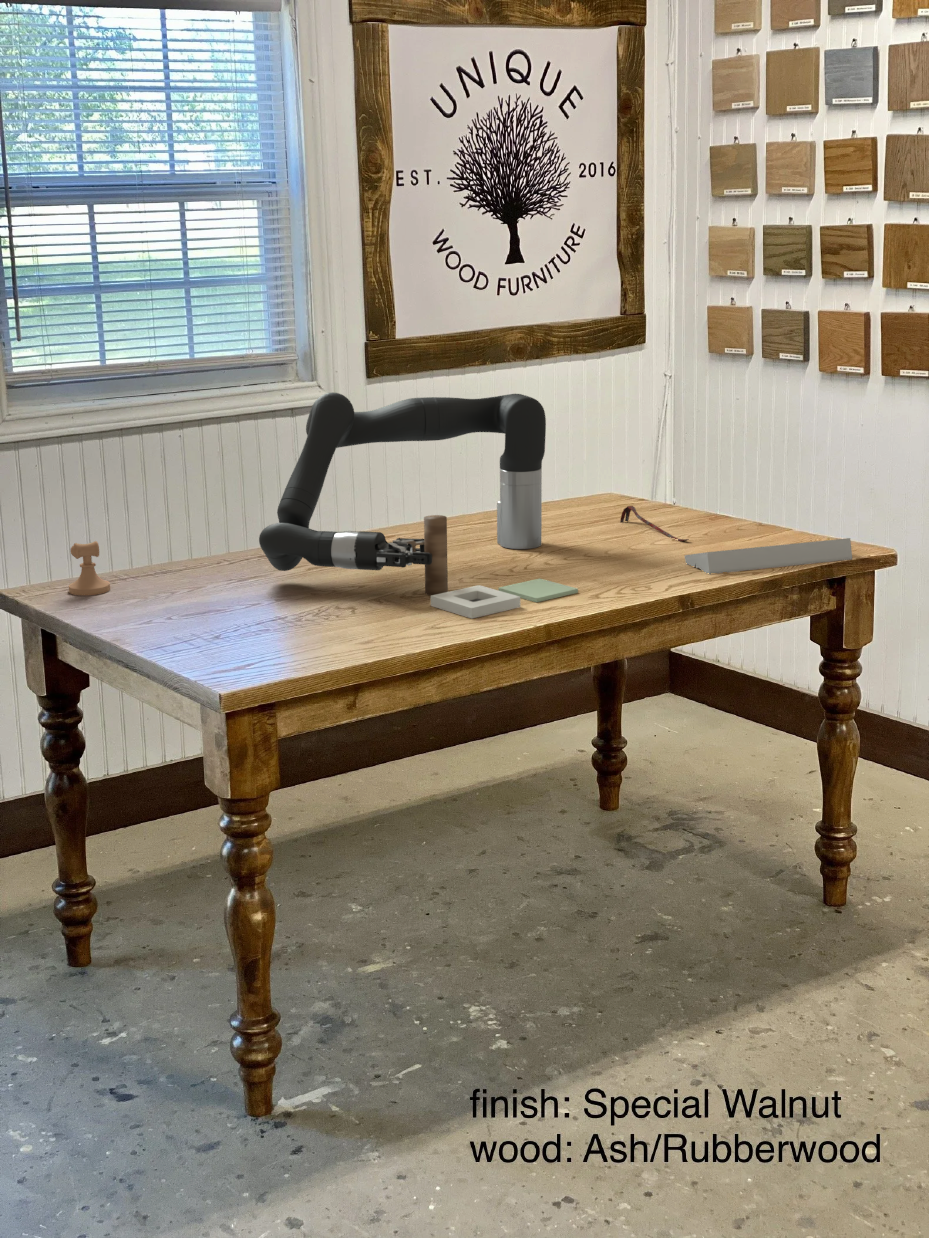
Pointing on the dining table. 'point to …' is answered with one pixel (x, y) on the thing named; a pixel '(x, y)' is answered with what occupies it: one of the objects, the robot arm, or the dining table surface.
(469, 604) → the hole plate
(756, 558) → the decorative molding
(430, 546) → the walnut post
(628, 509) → the crowbar
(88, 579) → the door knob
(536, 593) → the pad
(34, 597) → the dining table surface
